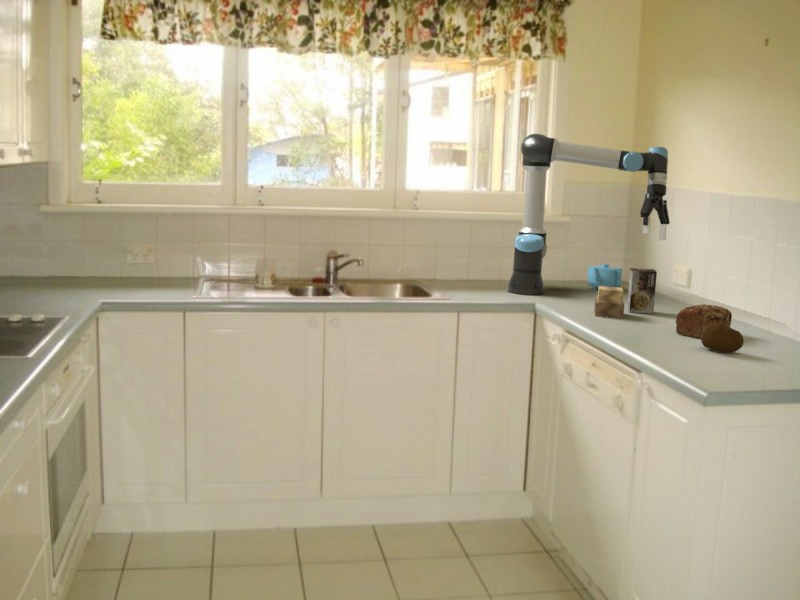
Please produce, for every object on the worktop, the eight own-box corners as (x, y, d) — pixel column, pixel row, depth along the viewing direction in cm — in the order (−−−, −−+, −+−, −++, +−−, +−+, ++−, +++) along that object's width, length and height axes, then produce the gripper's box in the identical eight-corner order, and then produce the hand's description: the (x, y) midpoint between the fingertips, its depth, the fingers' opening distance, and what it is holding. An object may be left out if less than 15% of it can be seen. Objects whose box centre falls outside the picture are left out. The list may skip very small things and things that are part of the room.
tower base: (594, 316, 321) (595, 303, 320) (594, 312, 331) (595, 298, 330) (623, 319, 319) (624, 305, 318) (621, 314, 329) (622, 301, 328)
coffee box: (650, 311, 337) (654, 269, 334) (653, 314, 331) (657, 271, 328) (626, 309, 338) (629, 267, 335) (628, 312, 332) (632, 269, 329)
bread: (701, 340, 287) (705, 310, 286) (672, 334, 295) (675, 304, 294) (731, 334, 300) (734, 305, 298) (702, 328, 307) (705, 300, 306)
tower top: (598, 302, 321) (599, 289, 320) (597, 299, 329) (598, 285, 328) (622, 304, 319) (623, 291, 318) (620, 301, 327) (622, 287, 327)
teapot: (629, 290, 387) (631, 264, 385) (608, 294, 374) (610, 267, 372) (597, 285, 398) (599, 260, 396) (575, 288, 385) (577, 263, 383)
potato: (731, 357, 264) (735, 328, 262) (693, 349, 272) (696, 321, 270) (743, 353, 270) (747, 325, 268) (706, 346, 278) (709, 318, 276)
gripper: (650, 176, 348) (647, 230, 346) (679, 191, 366) (677, 242, 364) (633, 179, 353) (630, 231, 351) (662, 193, 371) (660, 243, 369)
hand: (654, 236), depth 357 cm, fingers open, 13 cm apart
